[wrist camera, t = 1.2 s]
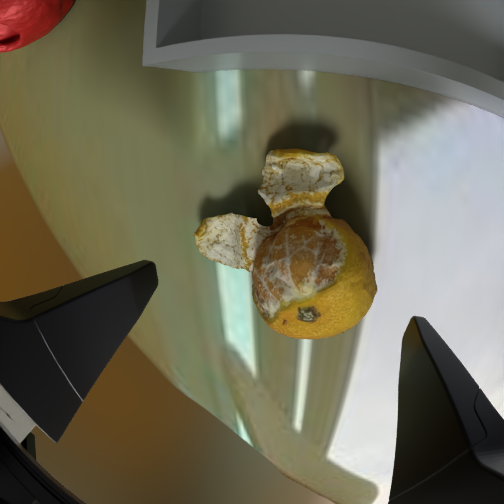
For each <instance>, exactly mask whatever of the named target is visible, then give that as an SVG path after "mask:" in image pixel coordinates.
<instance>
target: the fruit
mask: <svg viewBox="0 0 504 504" xmlns="http://www.w3.org/2000/svg"><path fill="white" fill-rule="evenodd" d="M261 172H262V175H263V183H262V185H261V187H260V188H258V193H259V194H260V195H261V196H262V198H263V199H264V200H265V202H266V204H267V205H268V206H269V207H270V209H271V212H272V217H273V218H274V220H273V224H272V225H271V226H268V227H266V226H262V225H260V224H259V223H258V222H257V218H250V217H245V216H242V215H240V214H239V215H235V214H233V213H232V212H231V213H229V214H225V215H217V216H215V217H212V218H206V219H204V220H203V221H202V224H201V225H200V227H199V228H198V229H197V231H196V232H195V234H194V236H195V237H196V244H197V246H198V249H199V251H200V252H201V253H202V254H203V255H204V256H206V257H207V258H209V259H210V260H213V261H217V262H220V263H222V264H224V265H229V266H230V267H232V268H237V269H239V268H243V269H246V270H247V271H249V272H252V279H253V285H252V288H253V291H252V295H253V300H254V302H255V304H256V306H257V309H258V312H259V314H260V315H261V317H262V318H263V319H264V321H265V322H266V323H267V325H268V326H269V327H271V328H272V329H274V330H275V331H276V332H278V333H280V334H283V335H285V336H289V337H292V338H299V339H319V338H325V337H332V336H335V335H337V334H339V333H344V331H345V330H349V329H351V328H352V327H353V326H355V325H356V324H357V323H358V322H359V321H360V320H361V319H362V318H363V317H364V316H365V315H366V313H367V312H368V310H369V309H370V307H371V305H372V303H373V299H374V296H375V294H376V292H377V285H376V282H375V273H374V271H373V269H374V267H373V261H372V258H371V257H370V255H369V252H368V249H367V247H366V246H365V244H364V242H363V241H362V239H361V238H360V237H359V236H358V235H356V233H355V232H354V231H353V230H352V229H351V227H350V225H348V224H347V223H346V221H344V220H342V219H333V218H332V217H331V215H330V213H329V211H328V210H327V209H326V207H325V205H324V203H325V199H326V196H327V195H328V193H329V192H330V191H331V189H332V188H333V187H334V186H336V185H338V184H340V183H341V182H342V181H343V180H344V169H343V167H342V164H341V162H340V160H339V159H338V158H337V157H336V156H335V155H333V154H331V153H329V152H328V153H316V152H309V151H306V150H304V149H300V148H293V149H276V150H271V151H270V152H269V153H268V155H267V157H266V164H265V166H264V168H263V169H262V170H261Z"/></svg>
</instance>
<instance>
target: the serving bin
mask: <svg viewBox="0 0 504 504" xmlns="http://www.w3.org/2000/svg"><path fill="white" fill-rule="evenodd" d="M142 66H149V67H159V68H168V69H176V70H183V71H190V72H206V71H219V70H239V69H286V70H306V71H319V72H329V73H338V74H346V75H354V76H361V77H367V78H373V79H378V80H384V81H389V82H394V83H398V84H403V85H407V86H411V87H415V88H419V89H423V90H427V91H430V92H434V93H437V94H441V95H444V96H447V97H450V98H454V99H457V100H460V101H462V102H465V103H468V104H471V105H474V106H476V107H479V108H481V109H484V110H487V111H489V112H491V113H494V114H496V115H498V116H501V117H503V118H504V0H147V2H146V13H145V25H144V40H143V63H142Z"/></svg>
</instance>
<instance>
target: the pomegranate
mask: <svg viewBox="0 0 504 504" xmlns="http://www.w3.org/2000/svg"><path fill="white" fill-rule="evenodd" d="M73 3H74V0H0V52H8V51H12V50H15V49H19V48H21V47H24V46H26V45H28V44H30V43H32V42H34V41H36V40H38V39H40V38H42V37H43V36H45V35H46V34H48V33H49V32H50V31H51V30H52V29H53V28H54V27H55V26H56V25H57V24H58V23H59V22H60V21H61V20H62V19H63V17H64V16H65V15H66V13H67V12H68V11H69V10H70V8H71V6H72V5H73Z"/></svg>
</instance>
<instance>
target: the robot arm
mask: <svg viewBox="0 0 504 504" xmlns="http://www.w3.org/2000/svg"><path fill="white" fill-rule="evenodd" d="M157 286H158V276H157V270H156V265H155V263H154V262H152V261H148V260H142V261H139V262H136V263H133V264H129V265H126V266H123V267H120V268H117V269H113V270H110V271H107V272H104V273H101V274H97V275H94V276H91V277H88V278H85V279H82V280H79V281H76V282H73V283H70V284H66V285H64V286H60V287H57V288H54V289H51V290H48V291H45V292H41V293H38V294H34V295H30V296H27V297H23V298H19V299H15V300H12V301H7V302H0V504H86V503H85V502H84V501H82V500H81V499H80V498H79V497H77V496H76V495H75V494H73V493H72V492H71V491H70V490H68V489H67V488H66V487H65V486H64V485H62V484H61V483H60V482H59V481H58V480H56V479H55V478H54V477H53V476H52V475H51V474H50V473H49V472H48V471H47V470H46V469H45V468H43V467H42V466H41V465H40V464H39V463H38V462H37V461H36V451H35V436H34V434H32V433H31V430H32V429H33V428H34V427H35V425H37V426H38V427H39V428H40V429H41V430H42V431H43V432H44V433H45V434H46V435H47V436H49V437H50V438H51V439H52V440H53V441H54V442H55V443H57V442H58V441H59V440H60V438H61V436H62V435H63V433H64V431H65V430H66V428H67V426H68V425H69V423H70V422H71V420H72V418H73V417H74V415H75V413H76V412H77V410H78V409H79V407H80V405H81V404H82V402H83V400H84V399H85V397H86V396H87V394H88V392H89V391H90V389H91V388H92V386H93V385H94V383H95V382H96V380H97V379H98V377H99V376H100V374H101V373H102V371H103V370H104V368H105V367H106V365H107V363H108V362H109V361H110V359H111V358H112V356H113V355H114V353H115V352H116V350H117V349H118V347H119V346H120V345H121V343H122V342H123V340H124V339H125V337H126V336H127V335H128V333H129V332H130V330H131V329H132V327H133V326H134V325H135V323H136V322H137V320H138V319H139V317H140V316H141V314H142V312H143V311H144V309H145V307H146V305H147V304H148V302H149V300H150V298H151V297H152V295H153V293H154V291H155V290H156V288H157ZM388 504H504V419H503V418H502V417H501V416H500V414H499V413H498V412H497V410H496V409H495V408H494V407H493V405H492V404H491V402H490V401H489V400H488V398H487V397H486V396H485V394H484V393H483V391H482V390H481V389H479V386H478V384H477V383H476V382H475V380H474V379H473V378H472V376H471V375H470V374H469V372H468V371H467V370H466V368H465V367H464V366H463V364H462V363H461V362H460V360H459V359H458V358H457V357H456V355H455V354H454V353H453V351H452V350H451V349H450V348H449V346H448V345H447V344H446V343H445V342H444V340H443V339H442V338H441V337H440V335H439V334H438V333H437V332H436V331H435V329H434V328H433V327H432V326H431V325H430V323H429V322H428V321H427V320H426V319H425V318H424V317H419V316H413V317H412V318H411V320H410V322H409V324H408V326H407V329H406V331H405V333H404V335H403V339H402V349H401V362H400V372H399V385H398V422H397V438H396V450H395V460H394V469H393V476H392V483H391V490H390V496H389V502H388Z"/></svg>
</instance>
